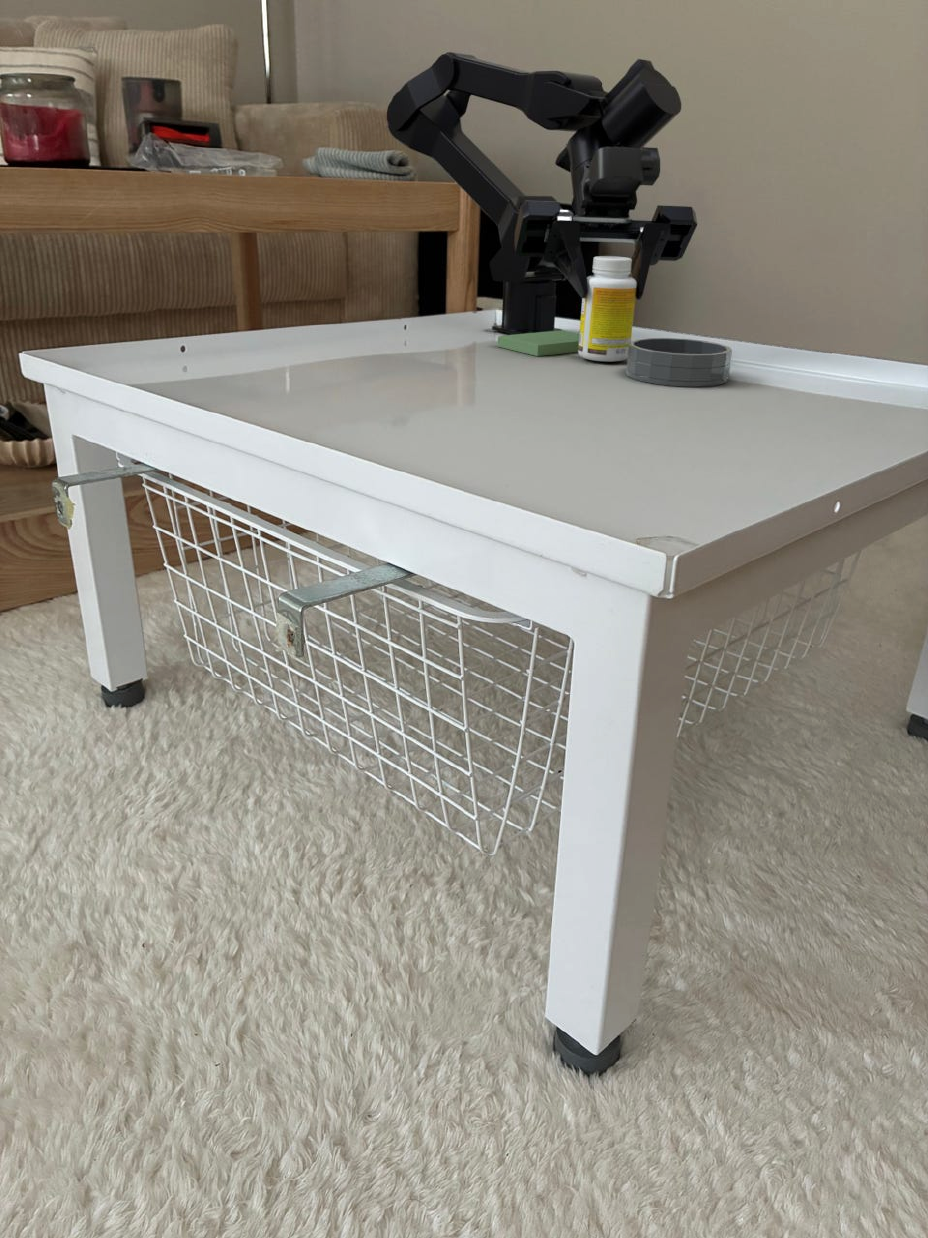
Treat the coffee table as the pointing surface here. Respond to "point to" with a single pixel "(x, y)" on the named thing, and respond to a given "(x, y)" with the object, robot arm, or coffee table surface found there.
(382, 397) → the coffee table surface
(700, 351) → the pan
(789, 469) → the coffee table surface
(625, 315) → the supplement bottle
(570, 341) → the green rectangular slab
